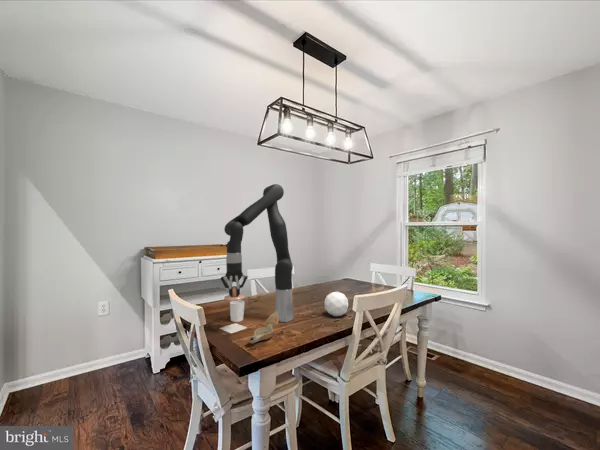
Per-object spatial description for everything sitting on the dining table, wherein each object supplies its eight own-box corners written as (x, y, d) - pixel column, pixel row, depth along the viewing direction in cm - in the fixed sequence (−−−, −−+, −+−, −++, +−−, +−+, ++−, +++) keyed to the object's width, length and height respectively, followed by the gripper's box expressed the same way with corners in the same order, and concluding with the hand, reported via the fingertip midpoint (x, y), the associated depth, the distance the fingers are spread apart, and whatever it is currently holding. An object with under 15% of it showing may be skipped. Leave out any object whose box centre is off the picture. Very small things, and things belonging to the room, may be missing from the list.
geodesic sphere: (332, 299, 176) (327, 283, 168) (354, 302, 168) (349, 286, 161) (324, 318, 165) (317, 303, 158) (347, 323, 158) (341, 307, 151)
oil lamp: (283, 332, 135) (283, 312, 136) (257, 349, 117) (257, 325, 117) (268, 329, 139) (268, 309, 140) (241, 345, 121) (241, 322, 121)
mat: (247, 328, 140) (247, 327, 140) (231, 334, 132) (231, 333, 132) (235, 323, 146) (235, 323, 146) (219, 329, 139) (219, 328, 139)
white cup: (238, 317, 158) (238, 299, 158) (247, 320, 153) (247, 301, 153) (226, 320, 151) (226, 302, 151) (235, 323, 146) (235, 304, 146)
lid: (248, 297, 140) (248, 286, 140) (232, 302, 132) (232, 289, 132) (236, 294, 146) (236, 283, 146) (220, 298, 138) (220, 287, 138)
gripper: (248, 260, 144) (249, 293, 143) (221, 261, 142) (221, 294, 142) (247, 262, 136) (248, 297, 136) (218, 262, 135) (218, 298, 134)
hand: (234, 296), depth 139 cm, fingers closed on lid, 2 cm apart
